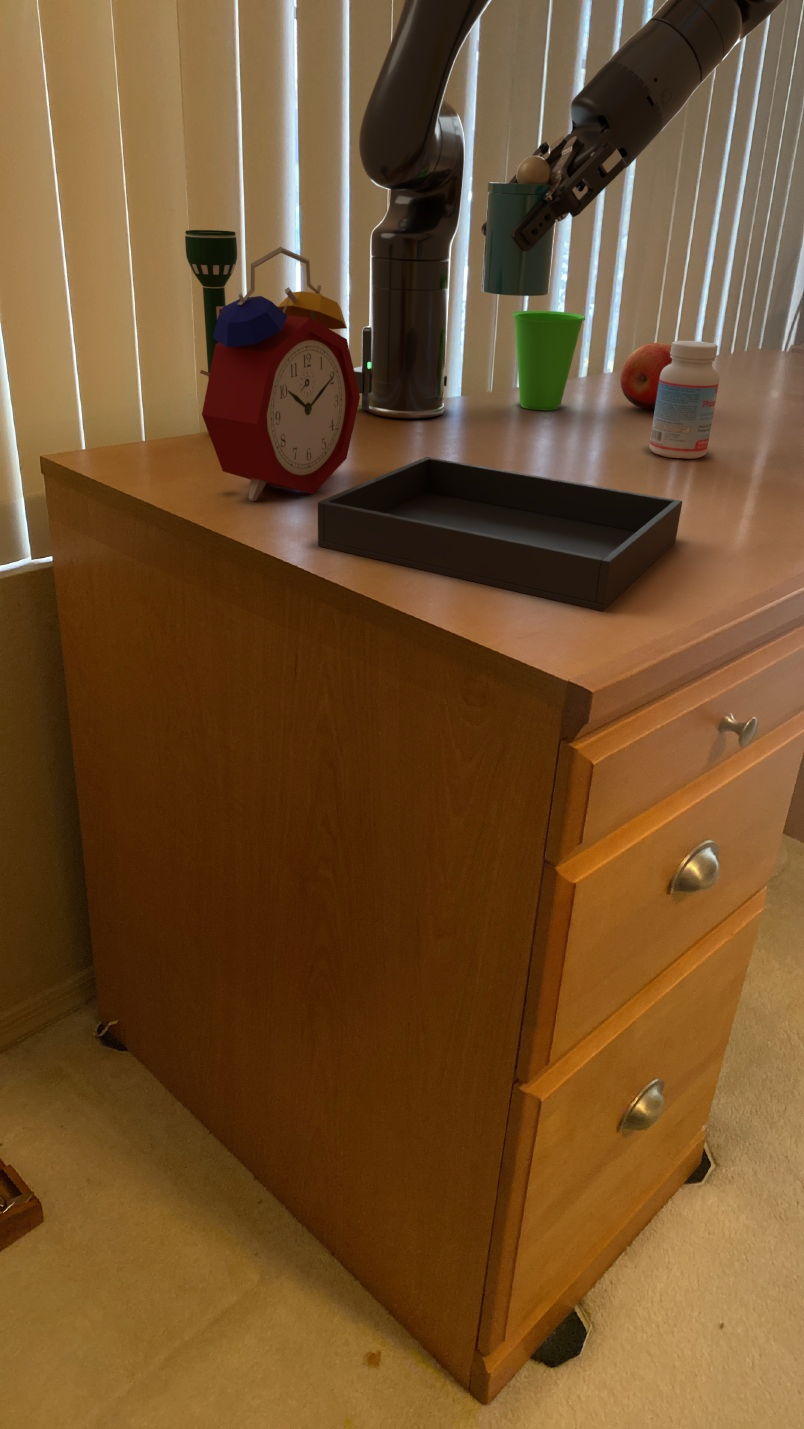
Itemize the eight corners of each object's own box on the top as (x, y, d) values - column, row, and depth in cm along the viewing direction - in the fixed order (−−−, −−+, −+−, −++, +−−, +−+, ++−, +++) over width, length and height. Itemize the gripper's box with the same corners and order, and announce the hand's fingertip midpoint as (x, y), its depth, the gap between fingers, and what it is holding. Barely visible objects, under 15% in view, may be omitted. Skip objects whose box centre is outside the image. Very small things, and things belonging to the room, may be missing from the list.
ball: (504, 178, 87) (520, 154, 84) (527, 166, 88) (543, 142, 86) (524, 206, 87) (540, 183, 85) (546, 194, 89) (563, 171, 86)
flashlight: (214, 442, 104) (201, 233, 94) (189, 433, 107) (174, 229, 98) (254, 435, 107) (246, 232, 97) (229, 427, 110) (218, 229, 101)
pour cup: (470, 291, 91) (476, 181, 87) (498, 287, 96) (506, 182, 92) (532, 297, 88) (542, 184, 84) (558, 292, 93) (569, 185, 89)
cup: (580, 403, 129) (591, 313, 123) (567, 416, 121) (578, 321, 116) (513, 396, 131) (521, 308, 126) (497, 409, 124) (504, 316, 118)
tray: (317, 546, 76) (317, 501, 74) (424, 495, 89) (426, 456, 87) (602, 611, 66) (609, 562, 64) (675, 543, 79) (682, 500, 77)
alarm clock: (262, 514, 82) (252, 252, 73) (186, 496, 86) (166, 245, 77) (361, 477, 94) (363, 245, 84) (289, 462, 97) (283, 240, 88)
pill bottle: (707, 462, 103) (728, 349, 98) (648, 457, 104) (665, 345, 99) (704, 448, 108) (723, 341, 103) (647, 444, 109) (664, 337, 104)
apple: (694, 411, 127) (705, 345, 123) (650, 417, 122) (660, 349, 118) (648, 400, 132) (657, 337, 128) (604, 405, 128) (612, 340, 124)
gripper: (574, 65, 91) (449, 204, 93) (656, 50, 79) (509, 211, 82) (617, 133, 95) (495, 265, 98) (700, 130, 83) (560, 280, 86)
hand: (502, 240), depth 90 cm, fingers closed on pour cup, 6 cm apart
